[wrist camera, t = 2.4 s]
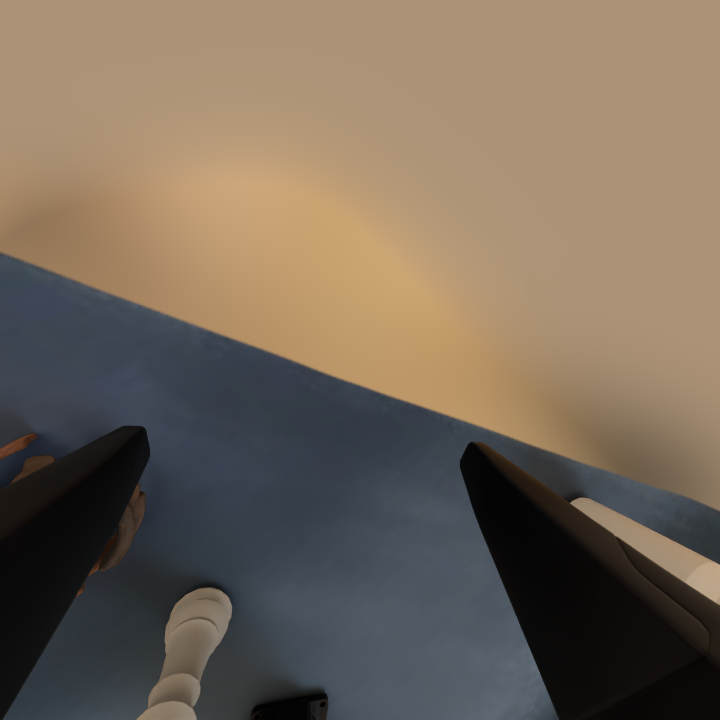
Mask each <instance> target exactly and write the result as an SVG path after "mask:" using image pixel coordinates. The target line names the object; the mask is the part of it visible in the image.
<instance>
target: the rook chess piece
mask: <svg viewBox="0 0 720 720" xmlns="http://www.w3.org/2000/svg"><path fill="white" fill-rule="evenodd" d="M231 614H232V605H231V602H230V600H229V597H228V596H227V595H226V594H225V593H223V592H222V591H221V590H220V589H217V588H213V587H204V588H199V589H197V590H195V591H192V592H190V593H188V594H186V595H185V596H184V597H183V598H182V599H181V600H180V601H178V602H177V603H176V605H175V607H174V608H173V610H172V612H171V614H170V620H169V622H168V623H167V625H166V631H165V644H166V647H165V652H166V658H165V662H164V665H163V669H162V673H161V676H160V679H159V681H158V684H157V685H156V686H155V687H154V688H153V689H152V691H151V693H150V695H149V699H148V707H149V708H148V709H147V710H146V711H145V712H144V713H143V714H142V715H141V716H140V717H139V718H138V719H137V720H196V715H195V713H194V710H193V708H192V707H193V706H194V705H195V704H196V702H197V700H198V698H199V696H200V688H201V687H200V680H201V676H202V674H203V671H204V669H205V666H206V664H207V661H208V659H209V656H210V655H211V654H212V653H213V652H214V650H215V648H216V647H217V646H218V645H219V644H220V642H221V640H222V638H223V636H224V634H225V633H226V631H227V629H228V622H229V620H230V619H231Z"/></svg>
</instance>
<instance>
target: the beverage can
mask: <svg viewBox="0 0 720 720" xmlns="http://www.w3.org/2000/svg"><path fill="white" fill-rule="evenodd" d="M570 504H572V505H573V506H574V507H576V508H577V509H579V510H580V511H582V512H583V513H584V514H586V515H587V516H589V517H590V518H592V519H593V520H594V521H596V522H597V523H599V524H600V525H602V526H603V527H604V528H606V529H607V530H609V531H610V532H612V533H613V534H614V535H615V536H617V537H619V538H620V539H622V540H623V541H624V542H626V543H627V544H629V545H630V546H632V547H633V548H634V549H636V550H637V551H639V552H640V553H642V554H643V555H645V556H646V557H648V558H649V559H650V560H652V561H653V562H655V563H656V564H658V565H659V566H661V567H662V568H664V569H665V570H667V571H668V572H670V573H671V574H673V575H674V576H676V577H677V578H679V579H680V580H682V581H683V582H685V583H686V584H688V585H689V586H691V587H693V588H694V589H696V590H697V591H699V592H700V593H702V594H703V595H705V596H706V597H708V598H709V599H711V600H713V601H714V602H716V603H717V604H719V605H720V565H719V564H717V563H715V562H713V561H711V560H709V559H707V558H705V557H703V556H701V555H700V554H698V553H696V552H694V551H692V550H690V549H688V548H686V547H684V546H682V545H680V544H678V543H676V542H674V541H672V540H670V539H668V538H666V537H664V536H662V535H660V534H658V533H656V532H654V531H652V530H651V529H649V528H647V527H645V526H643V525H641V524H639V523H637V522H635V521H633V520H631V519H629V518H627V517H625V516H623V515H621V514H619V513H617V512H615V511H613V510H611V509H609V508H607V507H605V506H603V505H601V504H599V503H597V502H595V501H593V500H591V499H588V498H578V499H575V500H573V501H572V502H570Z"/></svg>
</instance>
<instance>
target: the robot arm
mask: <svg viewBox="0 0 720 720" xmlns="http://www.w3.org/2000/svg"><path fill="white" fill-rule="evenodd" d="M149 457H150V447H149V442H148V437H147V432H146V429H145V428H144V427H142V426H122V427H120V428H118V429H116V430H114V431H112V432H110V433H108V434H107V435H105V436H103V437H101V438H99V439H97V440H95V441H93V442H91V443H89V444H87V445H85V446H83V447H81V448H80V449H78V450H76V451H74V452H72V453H70V454H68V455H66V456H64V457H62V458H60V459H58V460H56V461H55V462H53V463H51V464H49V465H47V466H45V467H43V468H41V469H39V470H37V471H35V472H33V473H31V474H30V475H28V476H26V477H24V478H22V479H20V480H18V481H16V482H14V483H12V484H10V485H8V486H6V487H5V488H3V489H1V490H0V720H3V718H4V717H5V715H6V713H7V712H8V710H9V708H10V707H11V705H12V703H13V702H14V700H15V698H16V697H17V695H18V693H19V691H20V690H21V688H22V686H23V685H24V683H25V681H26V680H27V678H28V676H29V675H30V673H31V671H32V670H33V668H34V666H35V664H36V663H37V661H38V659H39V658H40V656H41V654H42V653H43V651H44V649H45V648H46V646H47V644H48V643H49V641H50V639H51V638H52V636H53V634H54V632H55V631H56V629H57V627H58V626H59V624H60V622H61V621H62V619H63V617H64V616H65V614H66V612H67V611H68V609H69V607H70V605H71V604H72V602H73V600H74V599H75V597H76V595H77V594H78V592H79V590H80V589H81V587H82V585H83V584H84V582H85V580H86V578H87V577H88V575H89V573H90V572H91V570H92V568H93V567H94V565H95V563H96V562H97V560H98V558H99V557H100V555H101V553H102V551H103V550H104V548H105V546H106V545H107V543H108V541H109V540H110V538H111V536H112V535H113V533H114V531H115V529H116V528H117V526H118V524H119V522H120V520H121V518H122V516H123V514H124V512H125V510H126V508H127V506H128V503H129V501H130V499H131V497H132V495H133V493H134V490H135V488H136V486H137V484H138V482H139V480H140V477H141V475H142V473H143V471H144V469H145V467H146V465H147V462H148V460H149ZM460 469H461V472H462V475H463V479H464V482H465V485H466V488H467V491H468V495H469V498H470V501H471V504H472V508H473V511H474V513H475V516H476V519H477V522H478V524H479V527H480V529H481V531H482V534H483V536H484V539H485V541H486V544H487V546H488V548H489V551H490V553H491V556H492V558H493V561H494V563H495V565H496V568H497V570H498V573H499V575H500V578H501V580H502V582H503V585H504V587H505V590H506V592H507V594H508V597H509V599H510V602H511V604H512V607H513V609H514V611H515V614H516V616H517V619H518V621H519V624H520V626H521V628H522V631H523V633H524V636H525V638H526V640H527V643H528V645H529V648H530V650H531V653H532V655H533V657H534V660H535V662H536V665H537V667H538V670H539V672H540V674H541V677H542V679H543V682H544V684H545V686H546V689H547V691H548V694H549V696H550V699H551V701H552V703H553V706H554V708H555V711H556V713H557V716H558V718H559V720H720V605H719V604H717V603H716V602H714V601H713V600H711V599H709V598H708V597H706V596H705V595H703V594H702V593H700V592H699V591H697V590H696V589H694V588H693V587H691V586H689V585H688V584H686V583H685V582H683V581H682V580H680V579H679V578H677V577H676V576H674V575H673V574H671V573H670V572H668V571H667V570H665V569H664V568H662V567H661V566H659V565H658V564H656V563H655V562H653V561H652V560H650V559H649V558H648V557H646V556H645V555H643V554H642V553H640V552H639V551H637V550H636V549H634V548H633V547H632V546H630V545H629V544H627V543H626V542H624V541H623V540H622V539H620V538H619V537H617V536H615V535H614V534H613V533H612V532H610V531H609V530H607V529H606V528H604V527H603V526H602V525H600V524H599V523H597V522H596V521H594V520H593V519H592V518H590V517H589V516H587V515H586V514H584V513H583V512H582V511H580V510H579V509H577V508H576V507H574V506H573V505H572V504H570V503H569V502H567V501H566V500H564V499H563V498H562V497H560V496H559V495H557V494H556V493H554V492H553V491H552V490H550V489H549V488H547V487H546V486H544V485H543V484H542V483H540V482H539V481H537V480H536V479H534V478H533V477H532V476H530V475H529V474H527V473H526V472H524V471H523V470H522V469H520V468H519V467H517V466H516V465H514V464H513V463H512V462H510V461H509V460H507V459H506V458H504V457H503V456H502V455H500V454H499V453H497V452H496V451H494V450H493V449H492V448H490V447H489V446H487V445H486V444H484V443H482V442H470V443H469V444H468V445H467V447H466V449H465V451H464V453H463V455H462V457H461V460H460ZM327 709H328V696H327V694H325V693H323V694H317V695H312V696H306V697H301V698H296V699H290V700H285V701H280V702H274V703H269V704H263V705H258V706H256V707H255V708H254V709H253V710H252V714H251V720H326V717H327Z"/></svg>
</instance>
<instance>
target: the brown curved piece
mask: <svg viewBox="0 0 720 720" xmlns="http://www.w3.org/2000/svg"><path fill="white" fill-rule="evenodd" d="M36 438H37V435H36V434H35V433H33V434H28V435H26V436H24V437H21V438H19V439H17V440H15V441H13V442H12V443H10V444H8V445H6V446H4V447H3V448H1V449H0V460H1V459H3V458H5V457H7V456H9V455H11V454H13V453H15V452H18V451H20V450H22V449H24V448H26V447H27V446H28V444H29V443H30V442H32V441H34V440H35V439H36ZM55 461H56V459H55V458H54V457H53V456H51V455H42V456H34V457H31V458H28V459H26V461H25V464H24V466H23V468H22V472H21V473H20V474H18V475H17V476H16V477H15V478H14V479H13V480H12V482H11V483H10V484H12V483H14V482H16V481H18V480H20V479H22V478H24V477H26V476H28V475H30V474H31V473H33V472H35V471H37V470H39V469H41V468H43V467H45V466H47V465H49V464H51V463H53V462H55ZM10 484H9V485H10ZM145 508H146V500H145V493H144V492H143V491H140V484H139V483H138V484H137V486H136V488H135V490H134V493H133V495H132V497H131V499H130V501H129V503H128V506H127V508H126V510H125V512H124V514H123V516H122V518H121V520H120V522H119V524H118V528H119V529H118V533H117V534H116V535H115V536H114V537H113V538H112V539H110V540H109V541H108V543H107V545H106V546H105V548H104V550H103V551H102V553H101V555H100V557H99V558H98V560H97V562H96V563H95V565H94V567H93V568H92V570H91V572H90V573H89V575H88V576H90V575H91V574H93V573H94V572H96V571H97V570H98V569H99V571H100V572H103V571H106V570H108V569H110V568H112V567H114V566H116V565H117V564H118V563H119V562H120V561H121V560H122V558H123V557H124V556H125V554H126V552H127V551H128V549H129V547H130V544H131V543H132V541H133V538H134V535H135V533H136V532H137V530H138V528H139V526H140V525H141V522H142V520H143V517H144V513H145ZM84 588H85V582H84V584H83V585H82V587H81V589H80V590H79V592H78V594H77V595H76V596H78V595H79V594H81V593H82V592H83V591H84Z"/></svg>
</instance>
